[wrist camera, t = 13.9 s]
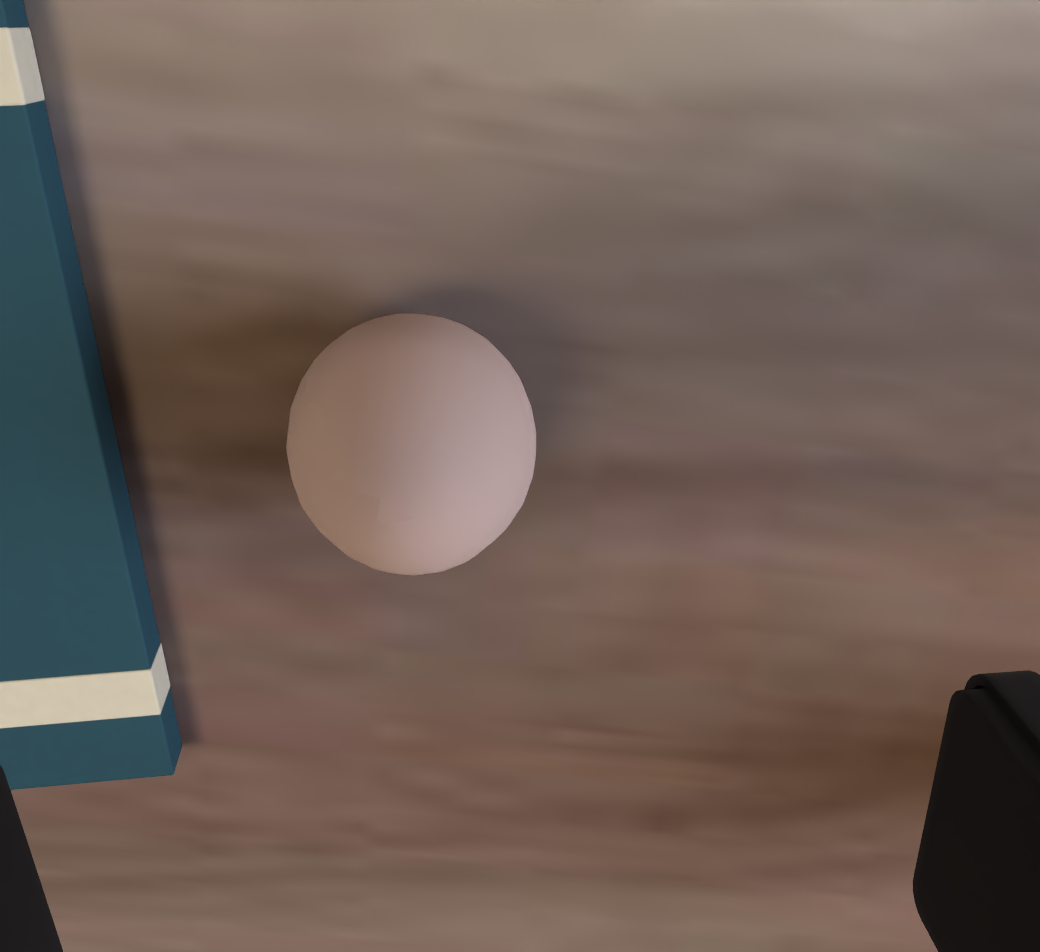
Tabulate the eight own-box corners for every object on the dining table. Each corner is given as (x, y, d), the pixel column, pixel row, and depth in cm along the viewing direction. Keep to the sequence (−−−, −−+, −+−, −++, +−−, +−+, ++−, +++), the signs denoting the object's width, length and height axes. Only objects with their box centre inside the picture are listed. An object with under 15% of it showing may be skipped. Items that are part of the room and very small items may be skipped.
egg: (421, 525, 25) (427, 688, 19) (256, 398, 24) (203, 534, 17) (563, 380, 24) (617, 504, 18) (400, 235, 22) (398, 318, 16)
